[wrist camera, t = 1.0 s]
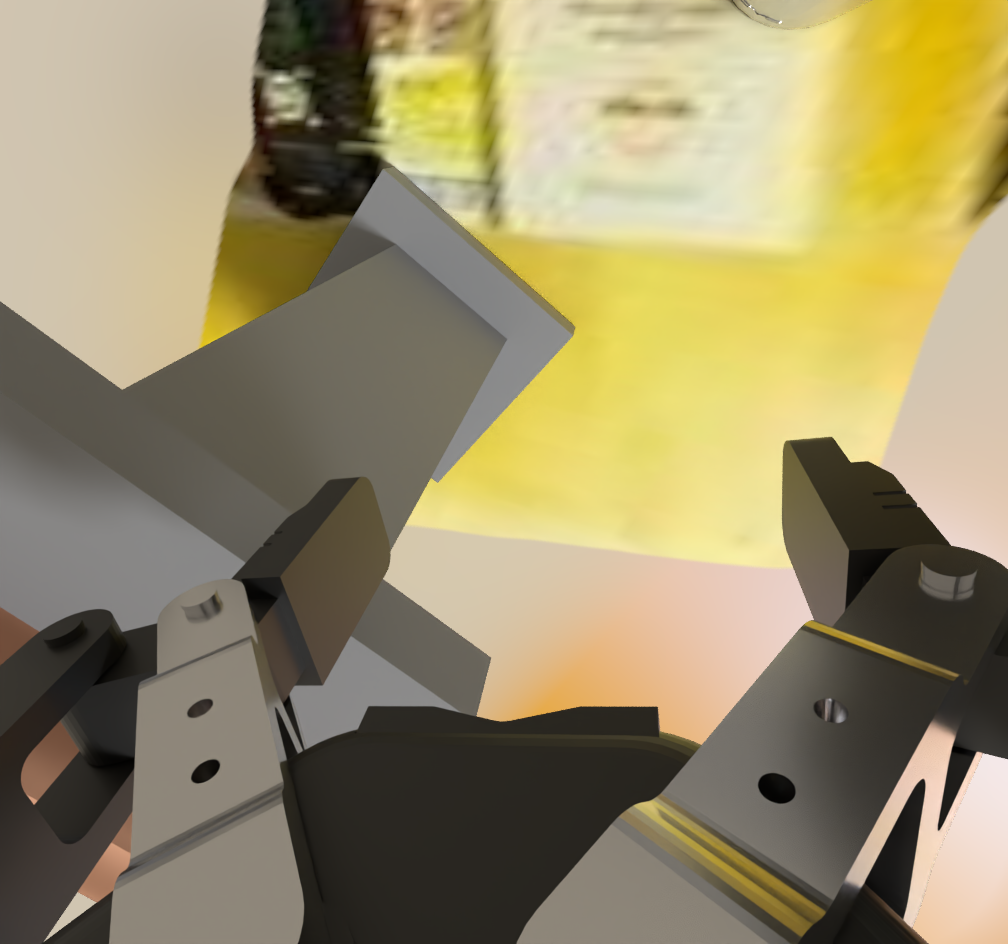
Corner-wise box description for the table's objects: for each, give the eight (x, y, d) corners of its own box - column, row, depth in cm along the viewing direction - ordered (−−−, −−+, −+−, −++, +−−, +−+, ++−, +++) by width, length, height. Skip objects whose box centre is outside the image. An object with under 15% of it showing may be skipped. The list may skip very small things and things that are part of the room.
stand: (393, 166, 39) (-167, 275, 12) (575, 326, 42) (474, 722, 14) (282, 343, 46) (-232, 673, 19) (444, 470, 49) (207, 920, 21)
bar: (-116, 534, 15) (-275, 622, 12) (588, 975, 19) (582, 1110, 16) (-136, 603, 16) (-282, 695, 14) (524, 999, 20) (509, 1128, 18)
